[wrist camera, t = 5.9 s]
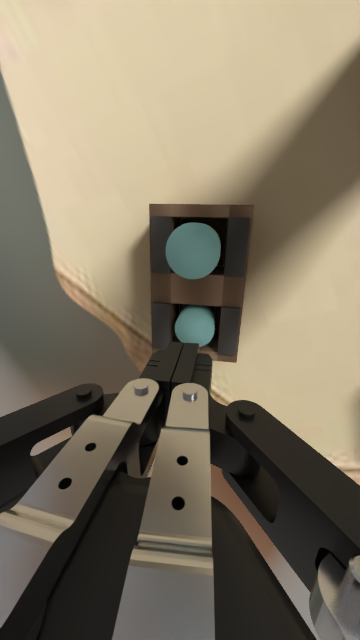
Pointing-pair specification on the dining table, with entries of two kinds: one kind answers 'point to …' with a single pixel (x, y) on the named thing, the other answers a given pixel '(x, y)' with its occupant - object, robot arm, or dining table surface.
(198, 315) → the peg
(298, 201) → the dining table surface
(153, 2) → the dining table surface
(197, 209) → the socket block
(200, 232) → the peg
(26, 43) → the dining table surface
